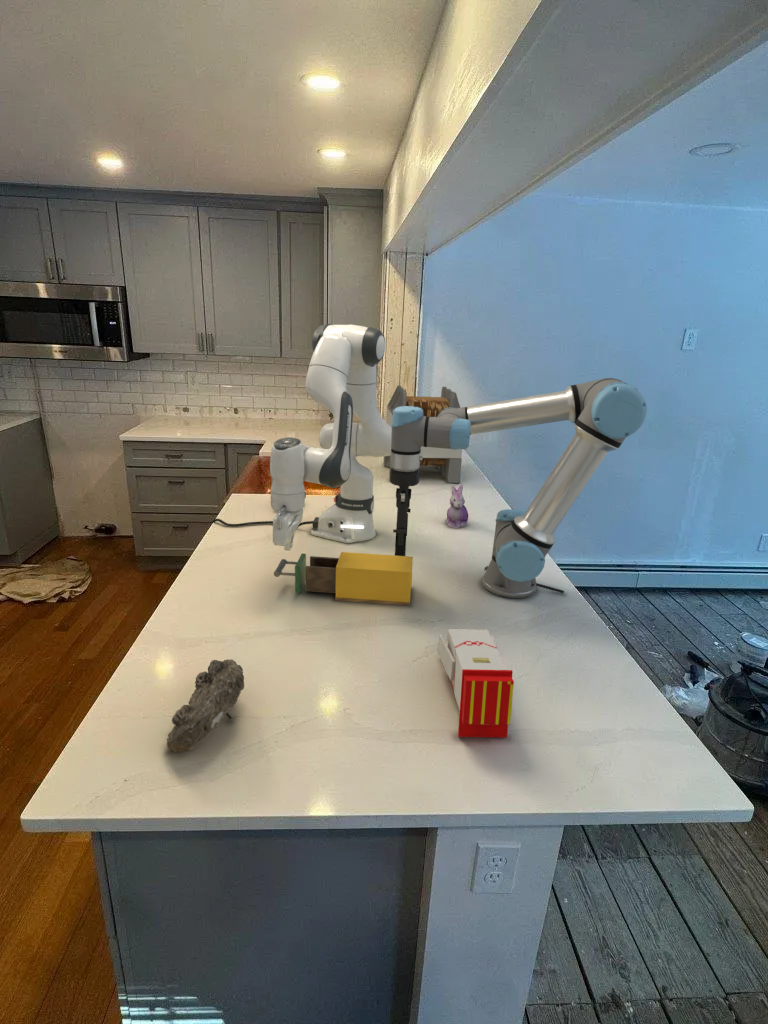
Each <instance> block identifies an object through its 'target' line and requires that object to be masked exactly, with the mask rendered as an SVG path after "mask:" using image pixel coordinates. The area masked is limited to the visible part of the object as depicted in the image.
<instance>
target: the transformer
mask: <svg viewBox="0 0 768 1024" xmlns="http://www.w3.org/2000/svg"><path fill="white" fill-rule="evenodd" d="M440 393H441V394H440V396H415V395H414V396H413V395H412V396H411V395H407V394H408V393H407V390H406V389H404V388H403V387H402V385H399V384H398V385H397V386H396V388H395V390H394V392H393V394H392V395H391V398H390V400H389V402H388V404H387V405H386V413H385V414H386V415H385V422H386V423H387V424H388V425H389V426H390V427H392V420H393V411H394V410H395V408H397V407H401V406H413V407H419V408H421V409H422V410H423V414H424V415H423V416H427V417H437V415H438V414H439V413H440V412H441V411H442V410H444V409H445V408H449V407H453V408H461V405H460V402H459V398H458V395H457V392H455V391H453V390H452V389H451V388H447V386H442V387H441V392H440ZM462 453H463V449H456V450H453V449H445V448H433V447H421V452H420V456H422V457H423V459H422V460H420V467H436V468H437V470H438V469H439V473H440V474H441V475H443V478H444V479H445V481H446V482H447V483H449V484H455V483H456V484H459V483H461V472H462V461H463V460H462ZM390 456H391V455H390ZM390 456H384V457H383V466H384V467H388V468H389V470H390V469H391V468H392V467H391V466H390ZM388 476H389V477H388V478H389V479H390V474H389V475H388Z"/></svg>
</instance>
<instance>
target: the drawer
mask: <svg viewBox="0 0 768 1024" xmlns="http://www.w3.org/2000/svg"><path fill="white" fill-rule="evenodd" d="M338 560H339V557H328V556H316V555H315V556H313V555H310V556H309V565H307V553H303V552H302V553H301V554H300V556H299V558H298V559H297V561H291V560H290V561H288V560H287V559H286V558H282V559H280V561H279V563H278V565H277V566H276V568H275V570H274V572H273V576H274V577H276V578H279V577H280V576H288V577H294V593H295V594H300V593H301V591H302V589H303V587H304V584H305V592H313V593H326V594H336V566H337V563H338ZM286 565H294V572H283V571H284V569H285V567H286Z"/></svg>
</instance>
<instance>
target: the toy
mask: <svg viewBox="0 0 768 1024" xmlns="http://www.w3.org/2000/svg"><path fill="white" fill-rule="evenodd" d="M446 640H447V643H446V641H445V639H444V636H443V635H442V634H439V637H438V646H437V656H438V657H439V659H440V661H441V663H442V666H443V668H444V670H445V672H446V674H447V677H448V679H449V681H450V684H451V687H452V690H453V693H454V697H455V701H456V705H457V708H458V711H459V714H458V715H459V716H458V730H457V731H458V732H457V737H458V738H508V731H509V726H510V725H511V717H512V707H513V697H514V696H513V695H514V684H515V680H514V679H513V673H514V671H513V670H512V669H508V667H507V665H506V662H505V661H504V659H503V658H502V655H501V653H500V651H499V649H498V647H497V643H496V639H495V637H494V635H493V634H491V632H490V631H489V629H467V628H466V629H465V628H463V629H461V628H460V629H459V628H448V630H447V639H446Z"/></svg>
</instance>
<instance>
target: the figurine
mask: <svg viewBox="0 0 768 1024" xmlns="http://www.w3.org/2000/svg"><path fill="white" fill-rule="evenodd" d="M463 490H464V485H463V484H460V485H459V487H457V488H456V487H455V485H451V487H450V491H451V496H450V499H449V504H450V507H449V508H447V510H446V519H445V524H446V525H447V527H449V528H452V529H453V528H454V529H459V528H464V527H466V525H468V520H469V513H468V509H467V507H466V506H465V503H466V501H465V497H464V494H463Z"/></svg>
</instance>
